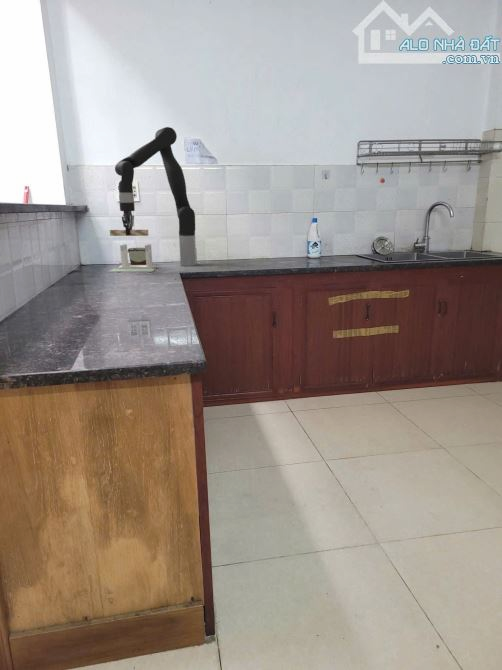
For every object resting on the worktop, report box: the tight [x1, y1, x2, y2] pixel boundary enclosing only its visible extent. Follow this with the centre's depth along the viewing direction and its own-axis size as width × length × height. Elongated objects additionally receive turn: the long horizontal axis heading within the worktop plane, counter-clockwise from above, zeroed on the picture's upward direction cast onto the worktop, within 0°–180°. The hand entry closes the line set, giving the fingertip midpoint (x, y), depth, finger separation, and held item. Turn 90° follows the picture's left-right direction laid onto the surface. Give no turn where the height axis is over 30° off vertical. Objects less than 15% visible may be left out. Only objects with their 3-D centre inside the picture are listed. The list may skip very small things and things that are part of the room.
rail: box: [109, 229, 149, 237], centre depth 253 cm, size 20×3×3 cm, turn 86°
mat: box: [107, 268, 156, 273], centre depth 259 cm, size 24×8×1 cm, turn 87°
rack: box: [117, 243, 157, 269], centre depth 266 cm, size 20×7×13 cm, turn 87°
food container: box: [127, 247, 146, 265], centre depth 278 cm, size 12×6×10 cm, turn 84°
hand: (129, 235), depth 253 cm, fingers closed on rail, 3 cm apart
